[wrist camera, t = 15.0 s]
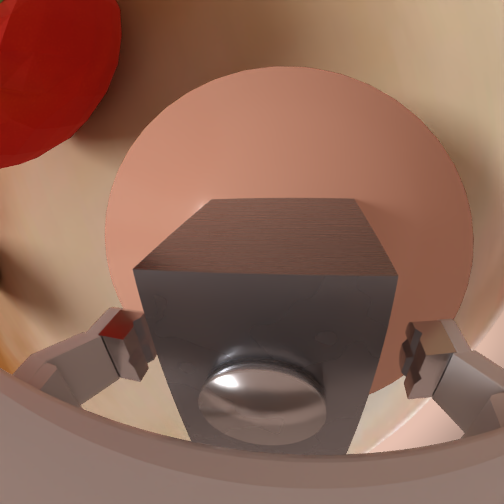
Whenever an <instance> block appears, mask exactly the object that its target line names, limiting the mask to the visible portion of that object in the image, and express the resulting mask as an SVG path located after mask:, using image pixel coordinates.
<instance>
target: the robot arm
mask: <svg viewBox="0 0 504 504" xmlns="http://www.w3.org/2000/svg"><path fill="white" fill-rule="evenodd" d="M405 334H406V337H407V339H406V340H405V341H404V342H403V343H402V345H401V349H400V353H399V366H400V370H401V373H402V374H403V375H405V376H406V379H405V381H404V386H405V390H406V394H407V398H408V399H415V398H426V397H432V399H433V400H434V401H436V403H437V404H438V405H439V406H440V407H441V408H442V409H443V410H444V411H445V412H446V413H447V414H448V415H449V416H450V417H451V419H452V420H453V421H454V422H455V423H456V424H457V425H458V426H459V427H460V428H461V429H462V430H463V431H464V433H465V434H464V435H463V436H462V437H461V439H458V440H454V441H449V442H445V443H440V444H435V445H430V446H424V447H419V448H412V449H404V450H396V451H387V452H377V453H365V454H346V455H298V454H279V453H266V452H256V451H247V450H239V449H231V448H225V447H218V446H212V445H207V444H201V443H196V442H191V441H186V440H182V439H177V438H173V437H169V436H165V435H161V434H157V433H153V432H150V431H146V430H142V429H139V428H136V427H132V426H129V425H126V424H123V423H120V422H117V421H114V420H111V419H108V418H105V417H102V416H100V415H97V414H94V413H92V412H89V411H86V410H84V409H83V408H82V407H81V404H83V403H84V402H86V401H87V400H89V399H90V398H92V397H93V396H95V395H96V394H98V393H99V392H101V391H102V390H104V389H105V388H106V387H108V386H109V385H111V384H112V383H114V382H115V381H117V380H118V379H119V377H120V378H125V379H129V380H134V381H139V382H141V380H142V378H143V377H144V375H145V373H146V372H147V370H148V364H147V363H148V362H150V361H152V360H154V358H155V357H156V355H157V352H156V349H155V346H154V343H153V340H152V337H151V334H150V331H149V327H148V324H147V321H146V317H145V314H144V311H137V310H130V309H123V308H116V307H111V308H109V309H108V310H107V311H106V312H105V313H104V314H103V315H102V316H101V317H100V318H99V319H98V320H97V321H96V322H95V323H94V325H93V326H92V327H91V328H90V329H89V330H88V331H87V332H86V333H85V332H82V333H80V334H77V335H75V336H73V337H70V338H68V339H66V340H64V341H61V342H59V343H57V344H54V345H52V346H50V347H47V348H45V349H43V350H41V351H38V352H36V353H34V354H31V355H30V356H29V357H28V358H27V359H26V360H25V361H24V363H23V364H22V365H21V366H20V367H19V368H18V369H17V370H16V371H15V372H14V373H13V375H11V374H9V373H8V372H6V371H4V370H3V369H1V368H0V504H504V369H503V368H501V367H500V366H498V365H497V364H495V363H494V362H492V361H491V360H489V359H488V358H486V357H485V356H483V355H482V354H480V353H478V352H477V351H471V349H470V347H469V345H468V344H467V342H466V340H465V338H464V336H463V335H462V333H461V331H460V329H459V328H458V326H457V324H456V323H455V321H454V320H453V319H451V318H450V319H440V320H434V321H416V322H409V323H408V325H407V328H406V331H405Z"/></svg>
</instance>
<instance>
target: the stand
mask: <svg viewBox="0 0 504 504" xmlns="http://www.w3.org/2000/svg"><path fill="white" fill-rule="evenodd" d="M237 198H348V199H355V201H356V203H357V204H358V206H359V207H360V209H361V211H362V212H363V214H364V216H365V217H366V219H367V221H368V222H369V224H370V226H371V227H372V229H373V231H374V232H375V234H376V236H377V238H378V239H379V241H380V243H381V245H382V246H383V248H384V250H385V252H386V254H387V255H388V257H389V259H390V261H391V263H392V265H393V266H394V268H395V270H396V272H397V274H398V281H397V287H396V292H395V297H394V302H393V307H392V311H391V316H390V320H389V325H388V329H387V333H386V337H385V341H384V345H383V348H382V352H381V356H380V359H379V363H378V366H377V370H376V373H375V376H374V380H373V383H372V386H371V389H370V392H369V394H371V393H374V392H376V391H378V390H380V389H382V388H384V387H385V386H387V385H389V384H391V383H393V382H394V381H396V380H397V379H399V378H400V377H402V376H403V374H402V373H401V370H400V366H399V353H400V349H401V345H402V343H403V342H404V341H405V340H406V339H407V337H406V334H405V331H406V328H407V325H408V323H409V322H416V321H434V320H440V319H450V318H451V319H454V318H455V316H456V314H457V312H458V310H459V308H460V306H461V303H462V300H463V297H464V295H465V292H466V289H467V286H468V282H469V277H470V272H471V267H472V260H473V242H474V238H473V226H472V217H471V211H470V207H469V203H468V199H467V195H466V192H465V189H464V186H463V184H462V181H461V179H460V177H459V174H458V172H457V170H456V167H455V165H454V164H453V162H452V160H451V159H450V157H449V155H448V154H447V152H446V151H445V149H444V148H443V146H442V144H441V143H440V141H439V140H438V139H437V138H436V137H435V136H434V134H433V133H432V132H431V131H430V130H429V129H428V128H427V127H426V125H425V124H424V123H423V122H422V121H421V120H420V119H419V118H418V117H417V116H415V115H414V114H413V113H412V112H411V111H409V110H408V109H407V108H406V107H404V106H403V105H402V104H401V103H399V102H398V101H397V100H395V99H394V98H392V97H390V96H389V95H387V94H385V93H383V92H382V91H380V90H378V89H376V88H374V87H373V86H371V85H369V84H366V83H364V82H361V81H359V80H356V79H353V78H351V77H348V76H345V75H342V74H339V73H335V72H330V71H325V70H320V69H314V68H309V67H286V66H274V67H265V68H258V69H251V70H244V71H240V72H237V73H234V74H230V75H227V76H224V77H221V78H218V79H214V80H212V81H210V82H208V83H206V84H204V85H202V86H200V87H198V88H196V89H194V90H192V91H190V92H188V93H186V94H185V95H183V96H182V97H181V98H179V99H178V100H176V101H175V102H173V103H172V104H171V105H169V106H168V107H167V108H165V109H164V110H163V111H162V112H161V113H160V114H159V115H158V116H157V117H156V118H155V119H154V120H153V121H152V122H151V123H149V124H148V125H147V127H146V128H145V129H144V130H143V131H142V133H141V134H140V135H139V137H138V138H137V139H136V141H135V142H134V143H133V145H132V146H131V147H130V149H129V151H128V153H127V154H126V156H125V158H124V160H123V162H122V164H121V166H120V168H119V170H118V172H117V175H116V178H115V180H114V183H113V186H112V189H111V192H110V197H109V202H108V207H107V212H106V224H105V244H106V256H107V261H108V266H109V271H110V275H111V279H112V282H113V285H114V287H115V290H116V293H117V296H118V298H119V300H120V302H121V304H122V306H123V308H124V309H130V310H137V311H143V307H142V304H141V300H140V296H139V293H138V289H137V285H136V281H135V277H134V274H133V268H134V267H135V266H136V265H138V264H139V263H140V262H141V261H142V260H143V259H144V258H145V257H146V256H147V255H148V254H149V253H151V252H152V251H153V250H154V249H155V248H156V247H157V246H158V245H159V244H160V243H162V242H163V241H164V240H165V239H166V238H167V237H168V236H169V235H170V234H172V233H173V232H174V231H175V230H176V229H177V228H178V227H180V226H181V225H182V224H183V223H184V222H185V221H186V220H188V219H189V218H190V217H191V216H192V215H193V214H195V213H196V212H197V211H198V210H199V209H200V208H202V207H203V206H204V205H205V204H206V203H208V202H209V201H210V200H211V199H237Z"/></svg>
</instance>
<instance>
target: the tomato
mask: <svg viewBox="0 0 504 504" xmlns="http://www.w3.org/2000/svg"><path fill="white" fill-rule="evenodd" d="M121 38H122V33H121V15H120V8H119V6H118V4H117V2H116V0H0V168H5V167H9V166H14V165H19V164H21V163H24V162H27V161H29V160H32V159H35V158H37V157H39V156H41V155H42V154H44V153H45V152H47V151H49V150H50V149H52V148H54V147H55V146H57V145H59V144H60V143H62V142H64V141H66V140H67V139H69V138H71V137H72V135H73V134H74V133H75V132H76V131H77V130H78V129H79V128H80V127H81V126H82V125H83V124H84V123H85V122H86V121H87V120H88V119H89V117H90V116H91V114H92V113H93V111H94V110H95V108H96V107H97V105H98V104H99V102H100V101H101V99H102V98H103V97H104V95H105V94H106V92H107V90H108V88H109V85H110V83H111V80H112V78H113V75H114V73H115V70H116V68H117V65H118V61H119V53H120V45H121Z"/></svg>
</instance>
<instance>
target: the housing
mask: <svg viewBox="0 0 504 504" xmlns="http://www.w3.org/2000/svg"><path fill="white" fill-rule="evenodd" d="M133 274H134V277H135V281H136V285H137V289H138V293H139V296H140V300H141V304H142V307H143V311H144V314H145V317H146V321H147V324H148V327H149V331H150V334H151V337H152V340H153V343H154V346H155V349H156V352H157V355H158V358H159V361H160V364H161V367H162V369H163V372H164V375H165V378H166V380H167V383H168V386H169V388H170V391H171V394H172V396H173V399H174V401H175V404H176V406H177V409H178V411H179V414H180V416H181V418H182V421H183V423H184V425H185V428H186V430H187V432H188V435H189V437H190V439H191V441H192V442H196V443H201V444H207V445H212V446H218V447H225V448H231V449H239V450H247V451H256V452H266V453H279V454H298V455H346V453H347V451H348V448H349V446H350V444H351V441H352V439H353V436H354V434H355V431H356V429H357V426H358V423H359V421H360V418H361V415H362V412H363V410H364V407H365V404H366V401H367V398H368V395H369V392H370V389H371V386H372V383H373V380H374V376H375V373H376V370H377V366H378V363H379V359H380V356H381V352H382V348H383V345H384V341H385V337H386V333H387V329H388V325H389V320H390V316H391V311H392V307H393V302H394V297H395V292H396V287H397V281H398V274H397V272H396V270H395V268H394V266H393V265H392V263H391V261H390V259H389V257H388V255H387V254H386V252H385V250H384V248H383V246H382V245H381V243H380V241H379V239H378V238H377V236H376V234H375V232H374V231H373V229H372V227H371V226H370V224H369V222H368V221H367V219H366V217H365V216H364V214H363V212H362V211H361V209H360V207H359V206H358V204H357V203H356V201H355V199H348V198H237V199H211V200H210V201H209V202H208V203H206V204H205V205H204V206H203V207H202V208H200V209H199V210H198V211H197V212H196V213H195V214H193V215H192V216H191V217H190V218H189V219H188V220H186V221H185V222H184V223H183V224H182V225H181V226H180V227H178V228H177V229H176V230H175V231H174V232H173V233H172V234H170V235H169V236H168V237H167V238H166V239H165V240H164V241H163V242H162V243H160V244H159V245H158V246H157V247H156V248H155V249H154V250H153V251H152V252H151V253H149V254H148V255H147V256H146V257H145V258H144V259H143V260H142V261H141V262H140V263H139V264H138V265H136V266H135V267H134V268H133Z"/></svg>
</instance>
